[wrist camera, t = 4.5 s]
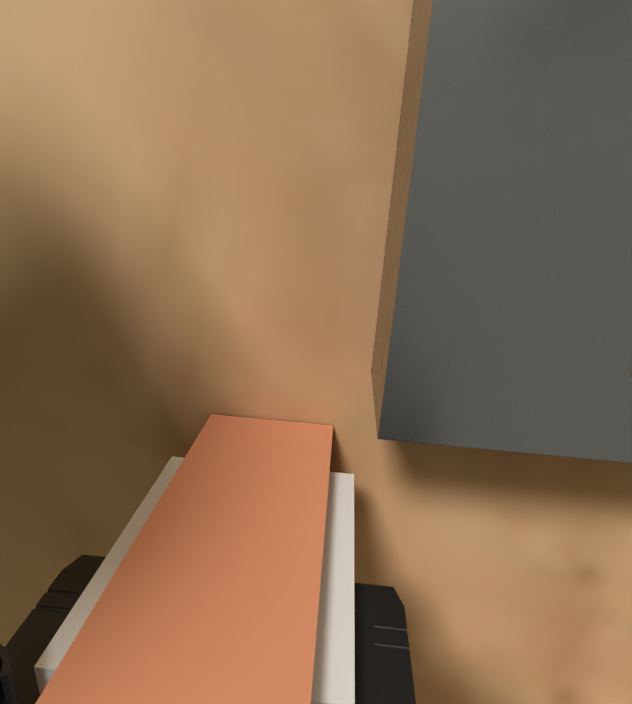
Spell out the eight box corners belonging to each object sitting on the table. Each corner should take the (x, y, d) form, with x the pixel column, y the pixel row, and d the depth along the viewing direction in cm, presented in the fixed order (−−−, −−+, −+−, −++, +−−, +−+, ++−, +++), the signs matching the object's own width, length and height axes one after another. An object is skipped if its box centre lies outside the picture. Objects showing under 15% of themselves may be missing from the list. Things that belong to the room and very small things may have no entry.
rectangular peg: (212, 514, 17) (-77, 1198, 5) (210, 414, 15) (-180, 1059, 4) (324, 525, 17) (263, 1261, 5) (333, 425, 15) (274, 1134, 4)
